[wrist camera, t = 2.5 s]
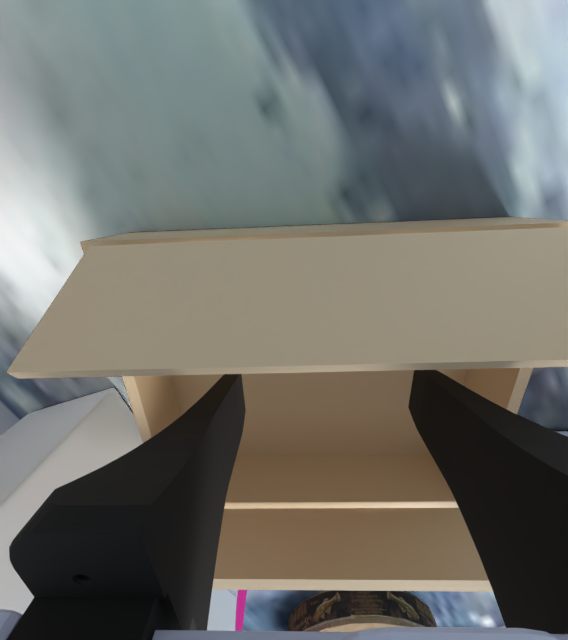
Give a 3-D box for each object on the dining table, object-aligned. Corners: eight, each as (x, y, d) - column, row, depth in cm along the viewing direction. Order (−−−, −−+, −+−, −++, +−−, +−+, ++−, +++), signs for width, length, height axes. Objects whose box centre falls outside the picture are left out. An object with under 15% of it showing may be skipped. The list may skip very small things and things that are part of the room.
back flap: (170, 508, 17) (170, 515, 17) (114, 578, 12) (113, 588, 12) (477, 507, 17) (477, 514, 17) (564, 580, 11) (566, 591, 11)
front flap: (569, 236, 11) (577, 226, 10) (697, 363, 7) (715, 356, 7) (95, 254, 11) (89, 245, 11) (17, 378, 8) (6, 371, 8)
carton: (509, 216, 14) (584, 221, 11) (449, 453, 21) (483, 507, 17) (131, 232, 15) (80, 242, 12) (185, 456, 22) (163, 509, 18)
